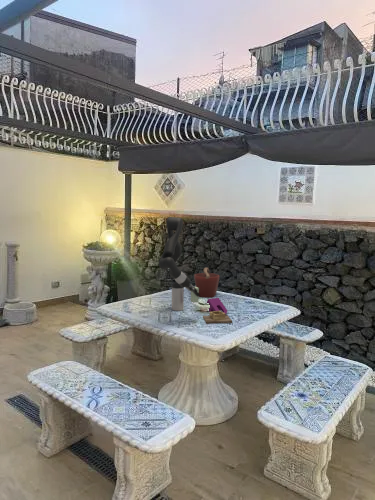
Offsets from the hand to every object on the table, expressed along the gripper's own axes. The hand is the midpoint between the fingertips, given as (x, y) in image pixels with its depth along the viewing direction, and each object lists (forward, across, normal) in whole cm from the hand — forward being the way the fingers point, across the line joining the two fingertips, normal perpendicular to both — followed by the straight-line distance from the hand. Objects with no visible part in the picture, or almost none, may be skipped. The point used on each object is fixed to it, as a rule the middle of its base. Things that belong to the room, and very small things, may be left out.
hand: (197, 294), depth 260 cm
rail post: (+2, 0, +5) cm, 5 cm away
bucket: (+42, +60, -16) cm, 75 cm away
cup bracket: (+21, -8, +4) cm, 23 cm away
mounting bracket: (+29, +9, -3) cm, 30 cm away
